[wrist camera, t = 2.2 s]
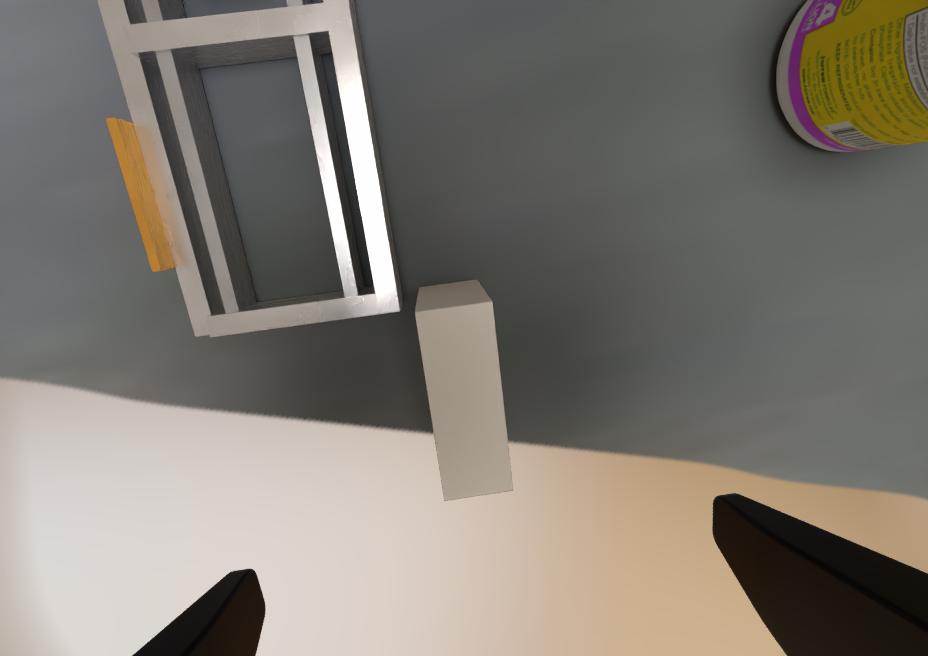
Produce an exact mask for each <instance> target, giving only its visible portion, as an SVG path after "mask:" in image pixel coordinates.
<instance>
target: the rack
mask: <svg viewBox="0 0 928 656" xmlns="http://www.w3.org/2000/svg"><path fill="white" fill-rule="evenodd" d="M97 1H98V4H99V7H100V11H101V14H102V18H103V21H104V25H105V28H106V31H107V35H108V38H109V42H110V45H111V49H112V52H113V56H114V59H115V62H116V66H117V69H118V73H119V76H120V80H121V83H122V86H123V90H124V93H125V97H126V100H127V104H128V107H129V110H130V114H131V117H132V121H133V123H132V122H128V121H125V120H122V119H118V118H107V119H106V121H107V124H108V128H109V131H110V134H111V137H112V141H113V144H114V147H115V151H116V154H117V157H118V160H119V164H120V167H121V170H122V173H123V177H124V180H125V183H126V187H127V190H128V193H129V196H130V200H131V203H132V206H133V209H134V213H135V216H136V219H137V223H138V226H139V229H140V232H141V236H142V239H143V242H144V246H145V249H146V252H147V255H148V259H149V262H150V265H151V268H152V272H154V271H161V270H166V269H171V268H176V272H177V275H178V279H179V282H180V285H181V289H182V292H183V296H184V299H185V303H186V306H187V309H188V313H189V316H190V320H191V323H192V327H193V330H194V333H195V337H198V336H205V335H210V337H217V336H224V335H231V334H239V333H246V332H253V331H260V330H268V329H275V328H282V327H290V326H297V325H304V324H311V323H319V322H326V321H333V320H341V319H348V318H355V317H362V316H370V315H377V314H384V313H392V312H399V311H400V310H401V307H402V304H403V297H402V291H401V285H400V278H399V272H398V266H397V260H396V254H395V248H394V242H393V236H392V229H391V223H390V217H389V211H388V205H387V199H386V193H385V187H384V180H383V174H382V168H381V162H380V156H379V150H378V144H377V138H376V131H375V125H374V119H373V113H372V107H371V101H370V95H369V89H368V83H367V76H366V70H365V64H364V58H363V52H362V46H361V40H360V34H359V27H358V21H357V15H356V9H355V3H354V0H323V3H318V4H312V0H286V1H287V6H288V7H282V8H273V9H264V10H255V11H246V12H237V13H228V14H219V15H210V16H201V17H192V18H186V15H185V11H184V7H183V3H182V0H97ZM328 53H333V59H334V64H335V70H336V75H337V81H338V87H339V92H340V98H341V103H342V109H343V115H344V120H345V126H346V131H347V137H348V142H349V148H350V154H351V159H352V165H353V170H354V176H355V182H356V187H357V193H358V198H359V204H360V210H361V215H362V221H363V226H364V232H365V238H366V243H367V249H368V254H369V260H370V266H371V271H372V277H373V282H374V286H373V287H366V288H365V286H364V281H363V276H362V270H361V265H360V259H359V254H358V248H357V243H356V238H355V232H354V227H353V221H352V216H351V210H350V205H349V200H348V194H347V189H346V183H345V178H344V173H343V167H342V162H341V156H340V151H339V145H338V140H337V135H336V129H335V124H334V118H333V113H332V107H331V102H330V97H329V91H328V86H327V80H326V75H325V70H324V64H323V59H322V54H328ZM294 57H298V62H299V67H300V72H301V77H302V83H303V88H304V93H305V98H306V103H307V108H308V113H309V118H310V123H311V128H312V133H313V138H314V143H315V148H316V154H317V159H318V164H319V169H320V174H321V179H322V184H323V189H324V194H325V199H326V204H327V209H328V214H329V219H330V225H331V230H332V235H333V240H334V245H335V250H336V255H337V260H338V265H339V270H340V275H341V280H342V285H343V290H344V291H336V292H329V293H322V294H314V295H307V296H299V297H292V298H285V299H277V300H270V301H262V302H257V300H256V296H255V292H254V288H253V284H252V280H251V276H250V272H249V268H248V264H247V260H246V256H245V252H244V248H243V244H242V240H241V236H240V232H239V228H238V224H237V220H236V216H235V212H234V208H233V204H232V200H231V196H230V192H229V188H228V184H227V180H226V176H225V172H224V168H223V164H222V160H221V156H220V152H219V148H218V144H217V140H216V136H215V132H214V128H213V124H212V120H211V116H210V112H209V108H208V104H207V100H206V95H205V91H204V87H203V83H202V79H201V75H200V71H199V68H207V67H216V66H225V65H233V64H242V63H251V62H259V61H268V60H276V59H285V58H294Z"/></svg>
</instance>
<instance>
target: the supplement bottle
mask: <svg viewBox="0 0 928 656" xmlns="http://www.w3.org/2000/svg"><path fill="white" fill-rule="evenodd" d="M776 87H777V95H778V100H779V104H780V107H781V109H782V111H783V113H784V115H785V117H786V119H787V121H788V123H789V124H790V126H791V127H792V128H793V130H794V131H795V132H796V133H797V134H798V135H799V136H800V137H801V138H803V139H804V140H805V141H807V142H808V143H810V144H812V145H814V146H816V147H819V148H821V149H825V150H829V151H835V152H856V151H865V150H873V149H880V148H888V147H895V146H902V145H908V144H914V143H921V142H928V0H807V2H806V3H805V4H804V5H803V7H802V8H801V9H800V11H799V12H798V13H797V15H796V16H795V18H794V20H793V22H792V23H791V25H790V27H789V29H788V31H787V33H786V36H785V38H784V41H783V44H782V46H781V50H780V53H779V57H778V63H777V73H776Z"/></svg>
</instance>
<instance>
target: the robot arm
mask: <svg viewBox="0 0 928 656" xmlns="http://www.w3.org/2000/svg"><path fill="white" fill-rule="evenodd" d="M713 536H714V539H715V542H716V544H717V546H718V548H719V549H720V551H721V553H722V554H723V556H724V558H725V559H726V561H727V563H728V565H729V566H730V568H731V569H732V571H733V573H734V575H735V576H736V578H737V579H738V581H739V583H740V585H741V586H742V588H743V590H744V591H745V593H746V595H747V596H748V598H749V600H750V601H751V603H752V605H753V606H754V608H755V610H756V611H757V613H758V614H759V616H760V618H761V619H762V621H763V622H764V624H765V625H766V627H767V628H768V630H769V631H770V632H771V634H772V635H773V637H774V638H775V640H776V641H777V642H778V644H779V645H780V646H781V648H782V649H783V651H784V652H785V653H786V655H787V656H928V574H927V573H925V572H923V571H920V570H918V569H916V568H913V567H911V566H908V565H906V564H904V563H901V562H899V561H897V560H894V559H892V558H889V557H887V556H885V555H882V554H880V553H877V552H875V551H873V550H870V549H868V548H866V547H863V546H861V545H858V544H856V543H853V542H851V541H849V540H847V539H844V538H842V537H839V536H837V535H835V534H832V533H830V532H828V531H825V530H823V529H820V528H818V527H816V526H813V525H811V524H809V523H806V522H804V521H801V520H799V519H797V518H794V517H792V516H789V515H787V514H785V513H782V512H780V511H778V510H775V509H773V508H771V507H768V506H766V505H763V504H761V503H758V502H756V501H754V500H751V499H749V498H747V497H744V496H742V495H739V494H736V493H733V494H727V495H720V496H717V497H715V499H714V501H713ZM264 617H265V602H264V598H263V594H262V591H261V588H260V584H259V581H258V578H257V575H256V572H255V571H254V570H253V569H245V570H238V571H233V572H230V573H229V574H227V575H226V576H225V577H224V578H223V579H221V580H220V581H219V582H218V583H217V584H216V585H214V586H213V587H212V588H211V589H210V590H208V591H207V592H206V593H205V594H204V595H203V596H201V598H199V599H198V600H197V601H196V602H194V603H193V604H192V605H191V606H190V607H189V608H187V609H186V610H185V611H184V612H183V613H182V614H180V615H179V616H178V617H177V618H176V619H175V620H173V621H172V622H171V623H170V624H169V625H168V626H166V627H165V628H164V629H163V630H162V631H161V632H160V633H158V634H157V635H156V636H155V637H154V638H152V639H151V640H150V641H149V642H148V643H147V644H145V645H144V646H143V647H142V648H141V649H140V650H139V651H137V652H136V653H135V654H134V655H133V656H255V655H256V651H257V647H258V643H259V639H260V634H261V630H262V626H263V621H264Z"/></svg>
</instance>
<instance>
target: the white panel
mask: <svg viewBox="0 0 928 656" xmlns="http://www.w3.org/2000/svg"><path fill="white" fill-rule="evenodd" d="M415 316H416V323H417V329H418V336H419V342H420V348H421V355H422V361H423V367H424V374H425V380H426V386H427V393H428V399H429V406H430V412H431V418H432V425H433V431H434V437H435V444H436V450H437V456H438V462H439V469H440V475H441V482H442V488H443V494H444V500H445V501H448V500H454V499H460V498H467V497H473V496H480V495H487V494H494V493H500V492H507V491H513V484H512V475H511V466H510V459H509V458H510V457H509V448H508V439H507V430H506V421H505V412H504V403H503V394H502V385H501V376H500V367H499V358H498V348H497V339H496V330H495V321H494V312H493V303H492V300H491V299H490V297H489V296H488V294H487V293H486V292H485V290H484V289H483V287H482V286H481V284H480V283H479V281H478V280H469V281H462V282H454V283H447V284H440V285H432V286H425V287H419V290H418V296H417V302H416V308H415Z"/></svg>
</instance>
